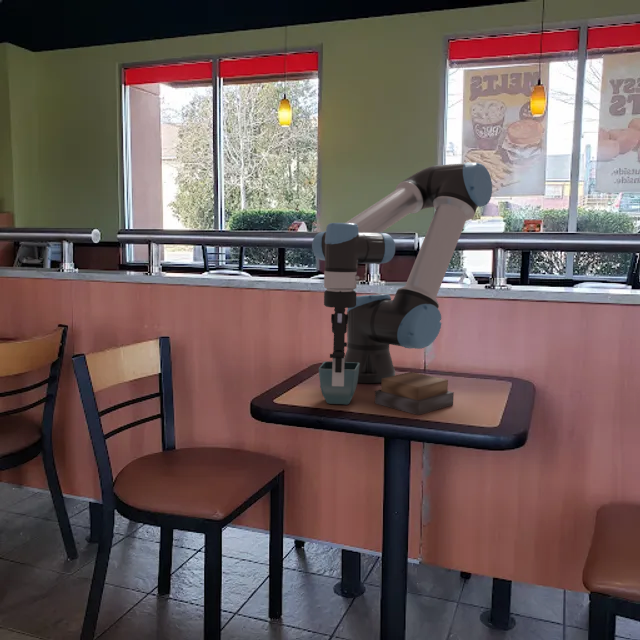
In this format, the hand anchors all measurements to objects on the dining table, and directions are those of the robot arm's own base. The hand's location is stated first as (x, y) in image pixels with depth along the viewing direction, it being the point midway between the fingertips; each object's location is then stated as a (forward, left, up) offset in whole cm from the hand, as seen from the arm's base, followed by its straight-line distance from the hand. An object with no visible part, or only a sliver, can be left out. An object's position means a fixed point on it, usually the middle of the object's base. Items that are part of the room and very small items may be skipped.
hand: (338, 379), depth 153 cm
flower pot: (0, 0, -6) cm, 6 cm away
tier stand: (+13, +12, -6) cm, 19 cm away
